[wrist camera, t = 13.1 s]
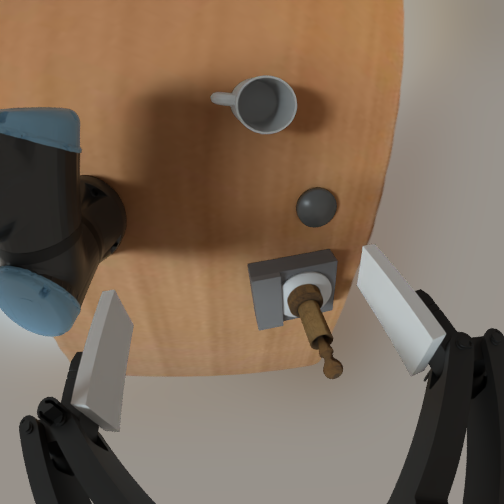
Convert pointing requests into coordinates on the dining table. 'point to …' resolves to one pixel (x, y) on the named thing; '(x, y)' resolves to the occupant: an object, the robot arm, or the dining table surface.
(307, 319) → the brown wooden pepper mill
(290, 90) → the cup
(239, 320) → the dining table surface
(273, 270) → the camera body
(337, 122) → the dining table surface
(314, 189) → the dark grey dome
